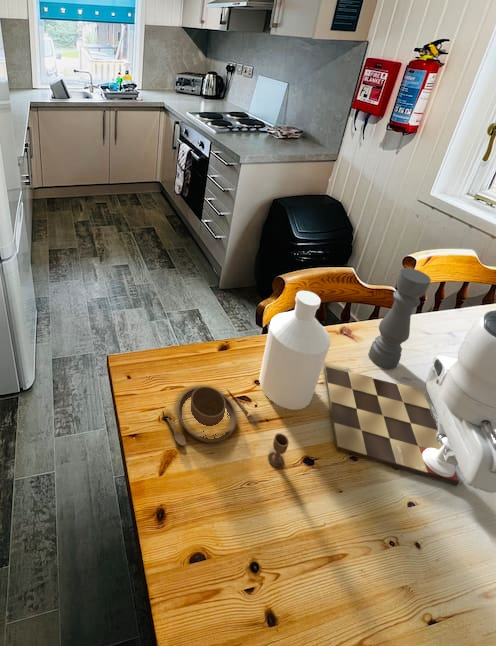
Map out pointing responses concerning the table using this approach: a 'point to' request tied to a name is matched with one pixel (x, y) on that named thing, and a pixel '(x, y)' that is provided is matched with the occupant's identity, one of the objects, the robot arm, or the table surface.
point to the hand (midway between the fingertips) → (445, 450)
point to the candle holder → (398, 318)
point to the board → (382, 422)
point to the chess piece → (439, 460)
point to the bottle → (294, 354)
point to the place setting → (219, 419)
